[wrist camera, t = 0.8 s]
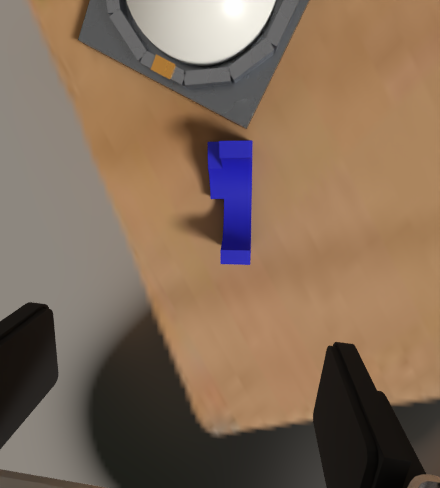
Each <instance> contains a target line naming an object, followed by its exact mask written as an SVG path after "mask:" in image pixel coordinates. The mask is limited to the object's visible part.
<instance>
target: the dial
mask: <svg viewBox="0 0 440 488" xmlns="http://www.w3.org/2000/svg"><path fill="white" fill-rule="evenodd" d="M126 2H127V5H128V7H129V10H130V12H131V14H132V16H133V18H134V20H135V22H136V23H137V25H138V27H139V28H140V29H141V31H142V32H143V33H144V35H145V36H146V37H147V38H148V39H149V40H150V41H151V42H152V43H153V44H154V45H155V46H156V47H157V48H158V49H159V50H160V51H162V52H163V53H164V54H166V55H167V56H169V57H170V58H172V59H174V60H176V61H179V62H181V63H184V64H188V65H194V66H211V65H217V64H220V63H223V62H226V61H228V60H230V59H232V58H235V57H236V56H238V55H239V54H241V53H242V52H244V51H245V50H246V49H247V48H248V47H249V46H251V45H252V44H253V42H254V41H255V40H256V39H257V38H258V37H259V35H260V34H261V32H262V31H263V30H264V28H265V26H266V25H267V23H268V21H269V19H270V17H271V14H272V12H273V9H274V7H275V3H276V0H126Z"/></svg>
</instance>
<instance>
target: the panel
mask: <svg viewBox="0 0 440 488" xmlns="http://www.w3.org/2000/svg"><path fill="white" fill-rule="evenodd" d="M309 1H310V0H276V3H275V7H274V9H273V12H272V14H271V17H270V19H269V21H268V23H267V25H266V26H265V28H264V30H263V31H262V32H261V34H260V35H259V37H258V38H257V39H256V40H255V41H254V42H253V44H252V45H251V46H249V47H248V48H247V49H246V50H245V51H244V52H242V53H241V54H239V55H238V56H236V57H235V58H232V59H230V60H228V61H226V62H223V63H220V64H217V65H211V66H194V65H188V64H184V63H181V62H179V61H176V60H174V59H172V58H170V57H169V56H167V55H166V54H164V53H163V52H162V51H160V50H159V49H158V48H157V47H156V46H155V45H154V44H153V43H152V42H151V41H150V40H149V39H148V38H147V37H146V36H145V35H144V33H143V32H142V31H141V29H140V28H139V27H138V25H137V23H136V22H135V20H134V18H133V16H132V14H131V12H130V10H129V7H128V5H127V2H126V0H90V2H89V5H88V9H87V12H86V15H85V19H84V22H83V25H82V29H81V32H80V35H79V39H78V40H79V41H81V42H82V43H84V44H85V45H87V46H89V47H91V48H93V49H95V50H97V51H99V52H101V53H103V54H104V55H106V56H108V57H110V58H112V59H114V60H116V61H118V62H120V63H122V64H124V65H125V66H127V67H129V68H131V69H133V70H135V71H137V72H139V73H141V74H143V75H145V76H146V77H148V78H150V79H152V80H154V81H156V82H158V83H160V84H162V85H164V86H166V87H167V88H169V89H171V90H173V91H175V92H177V93H179V94H181V95H183V96H185V97H186V98H188V99H190V100H192V101H194V102H196V103H198V104H200V105H202V106H204V107H206V108H207V109H209V110H211V111H213V112H215V113H217V114H219V115H221V116H223V117H225V118H227V119H228V120H230V121H232V122H234V123H236V124H238V125H240V126H242V127H244V128H246V129H247V128H248V125H249V123H250V121H251V119H252V117H253V115H254V113H255V111H256V109H257V107H258V105H259V103H260V101H261V99H262V97H263V95H264V93H265V91H266V89H267V87H268V85H269V83H270V81H271V79H272V76H273V74H274V72H275V70H276V68H277V66H278V64H279V62H280V60H281V58H282V56H283V54H284V52H285V50H286V48H287V46H288V44H289V42H290V40H291V38H292V36H293V34H294V32H295V29H296V27H297V25H298V23H299V21H300V19H301V17H302V15H303V13H304V11H305V9H306V7H307V5H308V3H309Z"/></svg>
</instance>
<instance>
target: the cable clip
mask: <svg viewBox="0 0 440 488" xmlns="http://www.w3.org/2000/svg"><path fill="white" fill-rule="evenodd" d="M208 171H209V178H210V193H211V199H224V227H223V239H222V246H221V264H243V265H250V253H251V197H252V141H219V142H208Z"/></svg>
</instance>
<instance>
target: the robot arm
mask: <svg viewBox="0 0 440 488" xmlns="http://www.w3.org/2000/svg"><path fill="white" fill-rule="evenodd" d="M57 379H58V364H57V353H56V342H55V331H54V319H53V312H52V310H51V309H49V307H48V306H47V305H46V304H39V303H32V302H31V303H27V304H25V305H23V306H22V307H21V308H19V309H18V310H16V311H15V312H13V313H12V314H11V315H9V316H8V317H6V318H5V319H3V320H2V321H0V449H1V448H2V447H3V445H4V444H5V443H6V442H7V441H8V440H9V438H10V437H11V436H12V435H13V433H14V432H15V431H16V430H17V429H18V428H19V426H20V425H21V424H22V423H23V422H24V421H25V419H26V418H27V417H28V416H29V415H30V413H31V412H32V411H33V410H34V409H35V407H36V406H37V405H38V404H39V403H40V401H41V400H42V399H43V398H44V397H45V396H46V394H47V393H48V392H49V391H50V390H51V388H52V387H53V386H54V385H55V383H56V381H57ZM313 423H314V428H315V433H316V438H317V442H318V447H319V452H320V457H321V462H322V467H323V472H324V477H325V481H326V486H327V488H440V477H437V476H434V475H426V473H425V471H424V469H423V467H422V465H421V463H420V461H419V459H418V457H417V455H416V453H415V452H414V449H413V448H412V446H411V444H410V442H409V440H408V438H407V436H406V434H405V432H404V430H403V429H402V426H401V424H400V422H399V420H398V419H397V417H396V415H395V413H394V411H393V409H392V407H391V405H390V403H389V401H388V399H387V397H386V396H385V394H384V393H383V392H381V391H377V390H376V388H375V386H374V384H373V382H372V379H371V377H370V375H369V373H368V371H367V369H366V367H365V365H364V363H363V361H362V359H361V357H360V355H359V353H358V351H357V349H356V347H355V345H353V344H348V343H340V342H335V343H334V344H333V346H328V347H327V351H326V355H325V360H324V365H323V370H322V374H321V379H320V384H319V388H318V393H317V398H316V403H315V407H314V413H313ZM0 488H106V487H100V486H94V485H89V484H83V483H77V482H72V481H66V480H60V479H54V478H48V477H43V476H36V475H31V474H25V473H19V472H13V471H7V470H1V469H0Z"/></svg>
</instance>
